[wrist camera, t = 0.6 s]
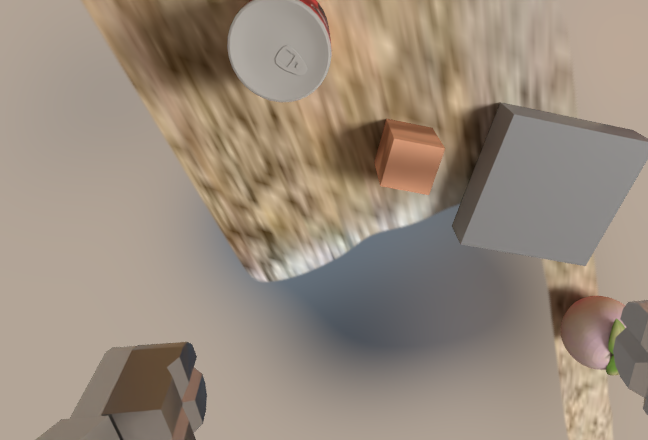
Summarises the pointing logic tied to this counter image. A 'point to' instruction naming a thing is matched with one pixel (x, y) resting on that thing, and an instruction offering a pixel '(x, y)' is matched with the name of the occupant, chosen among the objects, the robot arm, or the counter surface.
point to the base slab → (548, 184)
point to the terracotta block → (408, 157)
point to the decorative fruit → (593, 331)
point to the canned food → (280, 48)
